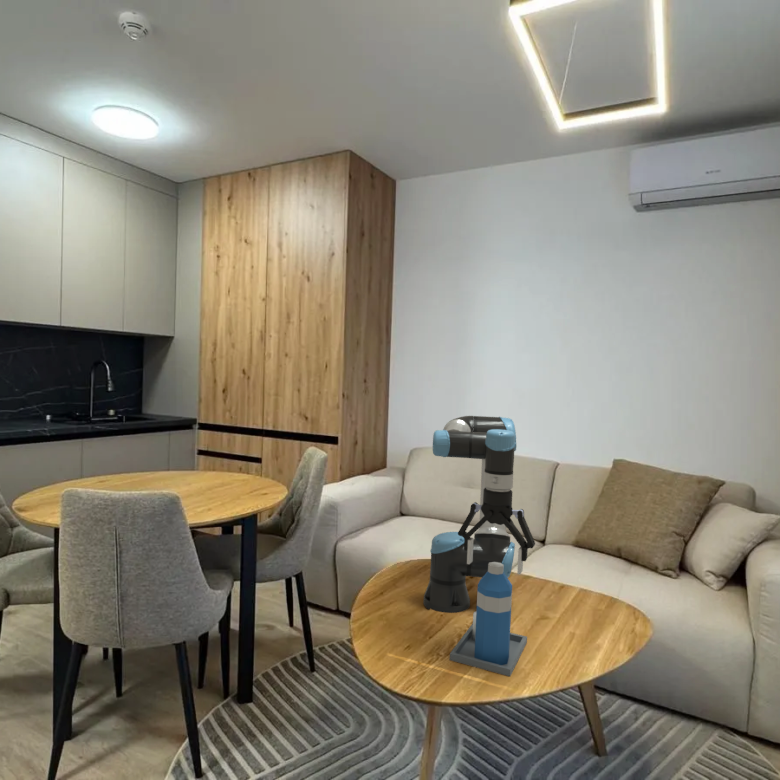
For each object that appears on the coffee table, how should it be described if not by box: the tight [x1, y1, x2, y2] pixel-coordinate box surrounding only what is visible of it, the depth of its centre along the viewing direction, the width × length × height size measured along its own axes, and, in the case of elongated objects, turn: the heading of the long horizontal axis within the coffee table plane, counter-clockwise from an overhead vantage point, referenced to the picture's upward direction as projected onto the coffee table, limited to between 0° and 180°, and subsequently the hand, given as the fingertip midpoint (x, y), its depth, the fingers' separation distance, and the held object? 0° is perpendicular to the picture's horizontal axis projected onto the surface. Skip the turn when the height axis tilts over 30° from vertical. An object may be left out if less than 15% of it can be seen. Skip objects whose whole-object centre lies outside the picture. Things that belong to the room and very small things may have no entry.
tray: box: [449, 623, 528, 677], centre depth 152 cm, size 16×20×2 cm
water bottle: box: [474, 562, 513, 665], centre depth 148 cm, size 9×9×25 cm
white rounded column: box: [472, 611, 476, 641], centre depth 158 cm, size 5×5×7 cm
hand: (494, 567), depth 148 cm, fingers open, 13 cm apart
